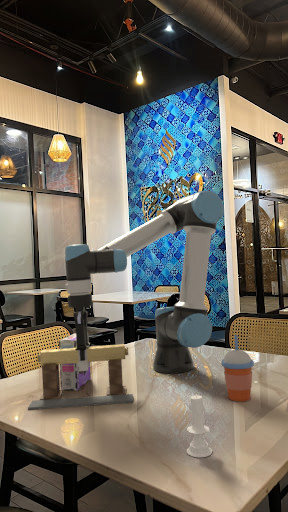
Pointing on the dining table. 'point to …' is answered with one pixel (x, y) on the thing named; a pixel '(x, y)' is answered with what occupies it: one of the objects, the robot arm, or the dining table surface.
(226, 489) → the dining table surface
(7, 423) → the dining table surface
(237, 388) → the cup with straw
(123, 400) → the grey plank
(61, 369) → the candy box
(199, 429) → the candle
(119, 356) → the rail
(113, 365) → the post
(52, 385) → the post
